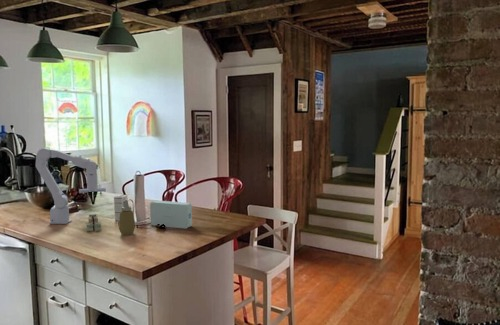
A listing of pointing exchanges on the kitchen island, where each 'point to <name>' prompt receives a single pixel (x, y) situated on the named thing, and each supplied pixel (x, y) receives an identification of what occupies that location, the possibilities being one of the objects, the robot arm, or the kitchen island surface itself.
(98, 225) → the fixed tong arm
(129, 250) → the kitchen island surface
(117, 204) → the syrup box
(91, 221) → the bar
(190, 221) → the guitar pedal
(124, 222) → the squeeze bottle
